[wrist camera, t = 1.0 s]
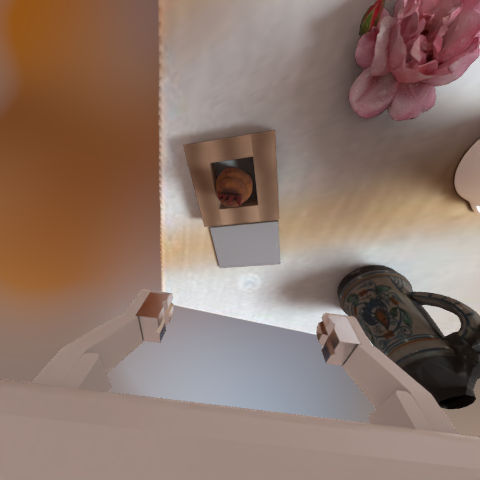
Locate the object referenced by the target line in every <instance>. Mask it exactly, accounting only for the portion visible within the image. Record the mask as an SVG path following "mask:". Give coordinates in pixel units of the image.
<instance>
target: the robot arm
mask: <svg viewBox="0 0 480 480" xmlns="http://www.w3.org/2000/svg"><path fill="white" fill-rule="evenodd" d="M455 188H456V191H457V193H458V194H459V195H460V196H461V197H462V198H464V199H465V200H467V201H468V202H470V205H471V208H472V210H473V211H474V212H477V213H480V139H479V140H478V141H477V142H476V143H475V144H474V145H473V146H472V147H471V148H470V149H469V150H468V151H467V153H466V154H465V155H464V157H463V158H462V160H461V162H460V164H459V166H458V168H457V171H456V174H455ZM172 299H173V296H172V293H166V292H159V291H154V290H146V289H142V290H141V291H140V292H139V294H138V295H137V296H136V298H135V299H134V300H133V302H132V303H131V305H130V306H129V307H128V309H127V310H126V311H125V313H124V314H120V315H118V316H116V317H115V318H113V319H111V320H109V321H108V322H106V323H104V324H103V325H101V326H99V327H97V328H96V329H94V330H92V331H90V332H89V333H87V334H85V335H83V336H82V337H80V338H78V339H77V340H75V341H73V342H72V343H70V344H68V345H66V346H64V347H63V348H62V349H61V350H60V351H59V352H58V353H57V354H56V355H55V357H54V358H53V359H52V360H51V361H50V362H49V363H48V364H47V365H46V367H45V368H44V369H43V370H42V371H41V372H40V373H39V374H38V375H37V377H36V378H35V379H34V380H33V381H32V382H31V383H29V382H20V381H12V380H4V379H0V480H480V437H479V436H471V435H462V434H459V433H458V432H457V430H456V429H455V428H454V426H453V425H452V423H451V422H450V420H449V419H448V417H447V416H446V415H445V413H444V412H443V410H442V409H441V407H440V406H439V405H438V403H437V402H436V400H435V399H434V397H433V396H432V394H431V393H429V392H428V391H427V390H426V389H425V388H424V387H422V386H421V385H420V384H419V383H418V382H416V381H415V380H414V379H413V378H412V377H411V376H409V375H408V374H407V373H406V372H405V371H403V370H402V369H401V368H400V367H399V366H398V365H396V364H395V363H394V362H393V361H392V360H390V359H389V358H388V357H387V356H386V355H385V354H383V353H382V352H381V351H380V350H379V349H377V348H376V347H374V346H372V345H371V343H370V341H369V340H368V338H367V336H366V335H365V333H364V331H363V329H362V328H361V326H360V324H359V323H358V321H357V319H356V318H355V317H353V316H345V315H337V314H329V313H325V314H323V316H322V320H323V321H322V322H320V323H319V324H318V326H317V332H316V333H317V338H318V341H319V343H320V344H321V345H322V346H323V347H322V353H323V356H324V359H325V362H326V363H327V364H334V365H340V366H343V368H344V369H345V371H346V372H347V373H348V374H349V376H350V377H351V378H352V379H353V381H354V382H355V383H356V384H357V386H358V387H359V388H360V389H361V390H362V392H363V393H364V394H365V395H366V397H367V398H368V399H369V400H370V401H371V403H372V404H373V405H374V407H375V408H376V410H374V411H373V412H372V413H371V414H370V416H369V420H370V422H371V423H362V422H354V421H346V420H338V419H330V418H321V417H313V416H305V415H296V414H288V413H280V412H271V411H263V410H254V409H246V408H238V407H230V406H221V405H212V404H205V403H195V402H188V401H180V400H171V399H163V398H154V397H145V396H138V395H129V394H121V393H113V392H109V391H110V389H111V383H110V381H109V378H108V376H107V373H108V372H109V371H111V370H112V369H113V368H114V367H115V366H116V365H117V364H119V362H121V361H122V360H123V359H124V358H125V357H127V356H128V355H129V354H130V353H131V352H132V351H133V350H134V349H136V348H137V347H138V346H139V345H140V344H141V343H142V342H143V341H148V342H159V343H160V342H161V340H162V338H163V336H164V334H165V331H166V326H165V325H167V324H168V323H169V322H170V319H171V317H172V313H173V304H172V303H171V301H172Z"/></svg>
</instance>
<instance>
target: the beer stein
mask: <svg viewBox="0 0 480 480" xmlns="http://www.w3.org/2000/svg"><path fill="white" fill-rule="evenodd" d="M337 293H338V297H339V301H340V305H341V308H342V309H343V311H344V312H345V313H346V314H347V315H348V316H353V317H355V318H356V319H357V321H358V323H359V324H360V326H361V328H362V329H363V331H364V333H365V335H366V336H367V337H368V339H369V340H370V341H371V343H372V344H373V346H374V347H376V348H377V349H379V350H380V351H381V352H382V353H383V354H385V355H386V356H387V357H388V358H389V359H390V360H392V361H393V362H394V363H395V364H396V365H398V366H399V367H400V368H401V369H402V370H403V371H405V372H406V373H407V374H408V375H409V376H411V377H412V378H413V379H414V380H415V381H416V382H418V383H419V384H420V385H421V386H422V387H424V388H425V389H426V390H427V391H428V392H429V393H431V394H432V396H433V397H434V399H435V400H436V402H437V403H438V405H439V406H440V407H441V408H445V409H459V408H463V407H466V406H468V405H470V404H472V403H473V402H474V401H475V400H476V398H475V394H474V391H473V389H474V386H475V383H476V381H477V379H479V378H480V316H479V315H478V314H477V312H475V311H474V310H473V309H471V308H470V307H468V306H467V305H465V304H463V303H461V302H459V301H457V300H455V299H452V298H450V297H447V296H443V295H439V294H434V293H428V292H413V290H412V286H411V284H410V282H409V281H408V280H407V279H406V278H405V277H404V276H403V275H401V274H399V273H398V272H396V271H395V270H393V269H391V268H388V267H385V266H367V267H363V268H359V269H357V270H355V271H353V272H351V273H349V274H348V275H347V276H346V277H345V278H344V279H343V280H342V282H341V283H340V284H339V287H338V291H337ZM422 305H430V306H436V307H440V308H443V309H445V310H447V311H450V312H452V313H454V314H456V315H457V316H458V317H459V319H460V322H461V328H460V330H459V331H458V332H454V333H452V334H450V335H448V336H444V335H443V333H442V332H441V331H440V329H439V328H438V326H437V325H436V323H435V322H434V321H433V319H432V318H431V317H430V315H429V314H428V313H427V311H426V310H425V309H424V308H423V306H422Z"/></svg>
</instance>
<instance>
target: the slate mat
mask: <svg viewBox="0 0 480 480" xmlns="http://www.w3.org/2000/svg"><path fill="white" fill-rule="evenodd" d="M210 230H211V234H212V238H213V242H214V247H215V251H216V255H217V259H218V263H219V267H220V268H228V267H244V266H259V265H275V264H280V247H279V227H278V220H277V221H266V222H256V223H246V224H236V225H226V226H215V227H210Z"/></svg>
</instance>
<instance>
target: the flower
mask: <svg viewBox="0 0 480 480" xmlns="http://www.w3.org/2000/svg"><path fill="white" fill-rule="evenodd" d="M384 2H385V0H377V1H376V2H375V4H374V5H372V6H370V8H369V9H368V11H367V12H366V14H365V15H364V17H363V19H362V22H361V25H360V32H359V35H360V36H361V37H360V39H359V41H358V43H357V48H356V52H355V60H356V62H357V64H358V65H359V66H360V67H361V68H362V69H363V72H362V73H361V74H360V75H359V76H358V77H357V79H356V80H355V81H354V83H353V84H352V86H351V88H350V91H349V102H350V105H351V107H352V110H353V111H354V112H356V113H357V114H358V115H359V116H360V117H363V118H367V119H368V118H372V117H375V116H377V115H379V114H381V113H382V112H383V111H385V110H386V109H388V113H389V115H390V117H391V118H392V119H393V120H396V121H402V120H408V119H414V118H416V117H418V116H419V115H420V114H421V113H423V112H426V111H428V110H429V109H430V108H432V107H433V106H434V103H435V99H436V93H435V87H434V86H441V85H446V84H449V83H451V82H453V81H455V80H456V79H458V78H459V77H461V76H462V75H463V73H464V72H465V71H466V70H467V69H468V67H469V66H470V65H471V64H472V63H473V62H474V61H475V60H476V59H477V58H478V57H479V53H480V49H479V45H480V0H397V2H396V5H395V9H394V16H393V17H391V16H390V13H389V12H388V11H387V10H386V9H385V8H384Z"/></svg>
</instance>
